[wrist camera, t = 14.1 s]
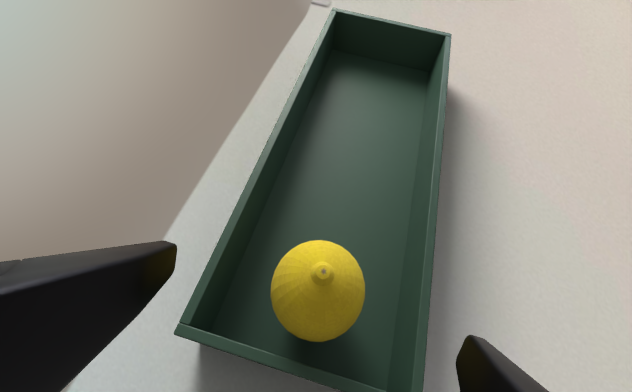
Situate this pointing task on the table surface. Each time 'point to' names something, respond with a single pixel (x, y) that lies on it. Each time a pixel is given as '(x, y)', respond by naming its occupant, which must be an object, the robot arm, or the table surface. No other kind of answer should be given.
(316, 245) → the lemon
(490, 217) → the table surface
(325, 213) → the green rectangular tray
